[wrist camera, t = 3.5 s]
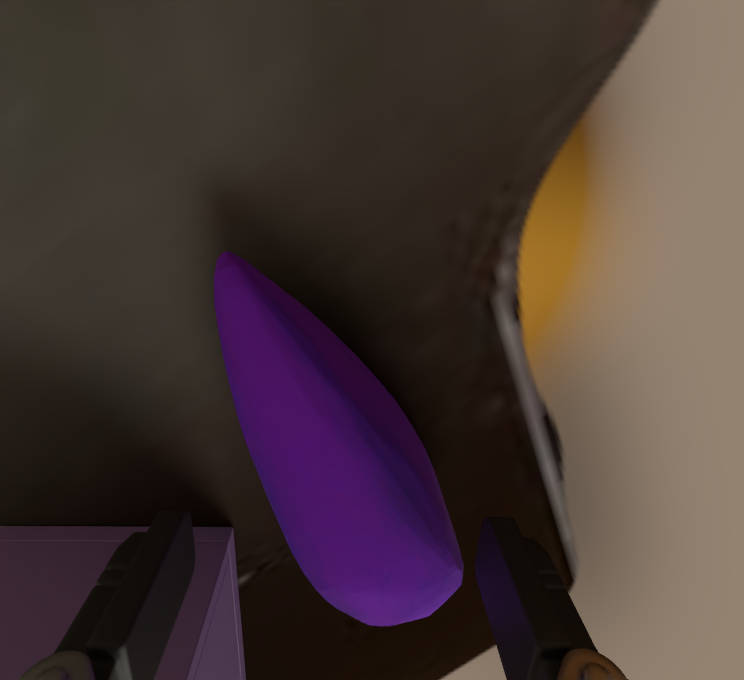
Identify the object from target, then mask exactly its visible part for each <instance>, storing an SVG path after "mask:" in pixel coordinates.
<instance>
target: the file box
mask: <svg viewBox="0 0 744 680" xmlns="http://www.w3.org/2000/svg"><path fill="white" fill-rule="evenodd" d="M148 529H149V527H135V526H0V680H18V679H19V678H20V677H21V676H22V675H23V674H24V673H25V672H26V671H27V670H28V669H30V668H31V667H32V666H33V665H35V664H36V663H37V662H39V661H41V660H42V659H44V658H46V657H48V656H50V655H52V654H53V653H54V652H55V650H56V649H57V647H58V646H59V644H60V642H61V641H62V639H63V637H64V636H65V634H66V632H67V631H68V629H69V627H70V626H71V624H72V622H73V621H74V619H75V617H76V616H77V614H78V612H79V610H80V609H81V607H82V605H83V604H84V602H85V600H86V599H87V597H88V595H89V594H90V592H91V590H92V589H93V587H94V586H96V582H97V580H98V579H99V577H100V575H101V574H102V572H103V570H105V569H106V565H107V564H108V562H109V560H110V559H111V557H112V555H113V554H114V552H115V550H116V549H117V547H118V546H120V545H121V544H122V543H123V542H124V541H125V540H126V539H127V538H128V537H130V536H131V535H132V534H133V533H134V532H147V531H148ZM193 536H194V545H195V567H194V572H193V576H192V579H191V582H190V584H189V587H188V590H187V592H186V595H185V598H184V600H183V603H182V606H181V608H180V611H179V614H178V616H177V619H176V622H175V624H174V627H173V630H172V632H171V635H170V638H169V640H168V643H167V646H166V648H165V651H164V654H163V656H162V659H161V662H160V664H159V667H158V670H157V672H156V675H155V678H154V680H246V674H245V663H244V651H243V639H242V627H241V615H240V603H239V592H238V580H237V568H236V556H235V544H234V532H233V527H193Z"/></svg>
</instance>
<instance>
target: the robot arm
mask: <svg viewBox="0 0 744 680" xmlns="http://www.w3.org/2000/svg"><path fill="white" fill-rule="evenodd" d="M194 567H195V545H194V536H193V527H192V518H191V514H190V512H189V511H159V512H158V513H157V514H156V516H155V518H154V520H153V522H152V523H151V525H150V527H149V529H148V531H147V532H134V533H133V534H132V535H131V536H130V537H128V538H127V539H126V540H125V541H124V542H123V543H122V544H121V545H120V546H118V547H117V549H116V550H115V552H114V554H113V555H112V557H111V559H110V560H109V562H108V564H107V565H106V569H105V570H103V572H102V574H101V575H100V577H99V579H98V580H97V582H96V586H94V587H93V589H92V590H91V592H90V594H89V595H88V597H87V599H86V600H85V602H84V604H83V605H82V607H81V609H80V610H79V612H78V614H77V616H76V617H75V619H74V621H73V622H72V624H71V626H70V627H69V629H68V631H67V632H66V634H65V636H64V637H63V639H62V641H61V642H60V644H59V646H58V647H57V649H56V650H55V652H54V653H53V654H52V655H50V656H48V657H46V658H44V659H42V660H41V661H39V662H37V663H36V664H35V665H33V666H32V667H31V668H30V669H28V670H27V671H26V672H25V673H24V674H23V675H22V676H21V677H20V678H19V679H18V680H154V678H155V675H156V672H157V670H158V667H159V664H160V662H161V659H162V656H163V654H164V651H165V648H166V646H167V643H168V640H169V638H170V635H171V632H172V630H173V627H174V624H175V622H176V619H177V616H178V614H179V611H180V608H181V606H182V603H183V600H184V598H185V595H186V592H187V590H188V587H189V584H190V582H191V579H192V576H193V572H194ZM475 569H476V577H477V582H478V585H479V588H480V592H481V595H482V598H483V602H484V605H485V608H486V612H487V615H488V618H489V622H490V625H491V628H492V632H493V635H494V638H495V642H496V645H497V648H498V652H499V655H500V658H501V662H502V665H503V668H504V672H505V675H506V678H507V680H628V679H627V678H626V677H625V675H624V674H623V673H622V671H621V670H620V669H619V668H618V667H617V666H616V665H615V664H614V663H613V662H612V661H611V660H609V659H608V658H606V657H605V656H603V655H602V654H600V653H598V651H597V649H596V647H595V646H594V644H593V642H592V640H591V638H590V636H589V634H588V632H587V630H586V628H585V626H584V624H583V622H582V620H581V618H580V616H579V614H578V612H577V610H576V608H575V606H574V604H573V602H572V600H571V598H570V596H569V594H568V592H567V590H565V586H564V584H563V582H562V580H561V578H560V576H559V575H558V574H557V570H556V568H555V566H554V564H553V562H552V560H551V558H550V556H549V554H548V553H547V552H546V551H545V549H544V548H543V547H542V546H541V545H540V544H539V543H538V542H537V541H536V540H535V539H534V538H523V537H522V535H521V533H520V530H519V528H518V526H517V524H516V522H515V520H514V519H513V518H512V517H485V518H484V520H483V523H482V528H481V533H480V538H479V543H478V548H477V553H476V559H475Z"/></svg>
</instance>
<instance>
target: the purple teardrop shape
mask: <svg viewBox="0 0 744 680" xmlns="http://www.w3.org/2000/svg"><path fill="white" fill-rule="evenodd" d="M214 304H215V310H216V317H217V324H218V330H219V336H220V341H221V347H222V352H223V358H224V363H225V367H226V371H227V376H228V380H229V384H230V388H231V392H232V396H233V400H234V404H235V408H236V412H237V416H238V419H239V422H240V425H241V428H242V432H243V435H244V438H245V441H246V444H247V446H248V449H249V451H250V454H251V457H252V459H253V462H254V464H255V467H256V469H257V472H258V474H259V477H260V479H261V482H262V485H263V487H264V490H265V492H266V494H267V497H268V499H269V502H270V504H271V507H272V509H273V511H274V514H275V516H276V518H277V520H278V523H279V525H280V527H281V529H282V532H283V534H284V536H285V538H286V540H287V543H288V545H289V547H290V549H291V551H292V553H293V555H294V557H295V559H296V561H297V562H298V564H299V566H300V567H301V569H302V571H303V573H304V574H305V576H306V577H307V578H308V580H309V581H310V582H311V584H312V585H313V586H314V588H315V589H316V590H317V591H318V592H319V593H320V594H321V595H322V597H323V598H324V599H325V600H327V601H328V602H329V603H330V604H332V605H333V606H334V607H336V608H337V609H339V610H340V611H342V612H344V613H346V614H348V615H350V616H352V617H353V618H355V619H357V620H359V621H361V622H363V623H365V624H368V625H375V626H392V625H396V624H401V623H405V622H409V621H413V620H417V619H421V618H424V617H427V616H430V615H431V614H432V613H433V612H434V611H435V610H436V609H438V608H439V607H440V606H441V605H442V604H443V603H445V602H446V600H447V599H448V598H449V597H450V596H451V595H452V594H453V593H454V592H455V591H456V590H457V589H458V588H459V587H460V586H461V583H462V576H463V566H464V565H463V560H462V556H461V552H460V549H459V546H458V542H457V539H456V536H455V533H454V529H453V526H452V523H451V520H450V517H449V514H448V511H447V508H446V506H445V503H444V499H443V496H442V493H441V490H440V486H439V483H438V480H437V477H436V475H435V472H434V469H433V467H432V464H431V461H430V459H429V457H428V454H427V452H426V449H425V447H424V445H423V444H422V442H421V440H420V438H419V437H418V435H417V433H416V431H415V430H414V428H413V426H412V425H411V423H410V422H409V420H408V418H407V417H406V415H405V414H404V412H403V411H402V409H401V408H400V406H399V405H398V403H397V402H396V400H395V399H394V398H393V396H392V395H391V394H390V393H389V392H388V391H387V389H386V388H385V387H384V386H383V385H382V383H381V382H380V381H379V380H378V379H377V378H376V377H375V375H374V374H373V373H372V372H371V371H370V370H369V369H368V368H367V366H366V365H365V364H364V363H363V362H362V361H361V360H360V359H359V358H358V357H357V355H356V354H355V353H354V352H353V351H351V350H350V349H349V348H348V347H347V346H346V345H345V344H344V343H343V342H342V340H341V339H340V338H339V337H337V336H336V335H335V334H334V333H333V332H332V331H331V330H330V329H329V328H328V327H327V326H326V325H325V324H324V323H323V322H322V321H320V320H319V319H318V318H317V317H316V316H315V315H314V314H313V313H311V312H310V311H309V310H308V309H307V308H306V307H305V306H303V305H302V304H301V303H299V302H298V301H297V300H296V299H294V298H293V297H292V296H291V295H289V294H288V293H287V292H285V291H284V290H283V289H282V288H280V287H279V286H278V285H276V284H275V283H274V282H273V281H271V280H270V279H269V278H268V277H266V276H265V275H264V274H262V273H261V272H260V271H259V270H257V269H256V268H255V267H253V266H252V265H251V264H250V263H248V262H247V261H246V260H245V259H243V258H241V257H239V256H237V255H235V254H233V253H232V252H230V251H226V252H224V253H222V254H221V255H220V257H219V258H218V259H217V263H216V269H215V274H214Z"/></svg>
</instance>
